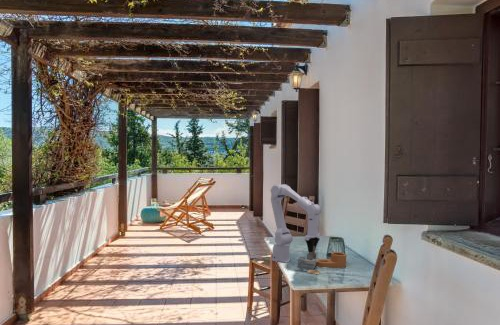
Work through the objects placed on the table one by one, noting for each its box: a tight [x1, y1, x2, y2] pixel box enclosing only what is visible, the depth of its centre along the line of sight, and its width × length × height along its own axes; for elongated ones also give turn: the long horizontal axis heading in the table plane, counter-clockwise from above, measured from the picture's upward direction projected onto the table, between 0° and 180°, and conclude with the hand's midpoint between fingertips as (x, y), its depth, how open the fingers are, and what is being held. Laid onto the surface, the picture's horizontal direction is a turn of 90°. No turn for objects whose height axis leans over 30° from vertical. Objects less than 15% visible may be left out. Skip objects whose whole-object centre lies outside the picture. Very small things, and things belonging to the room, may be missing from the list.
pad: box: [306, 269, 321, 276], centre depth 210 cm, size 6×6×1 cm
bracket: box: [315, 251, 347, 269], centre depth 225 cm, size 18×8×7 cm, turn 100°
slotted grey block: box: [306, 246, 317, 261], centre depth 217 cm, size 3×5×7 cm, turn 145°
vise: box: [297, 255, 319, 270], centre depth 218 cm, size 10×11×5 cm
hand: (311, 251), depth 217 cm, fingers closed on slotted grey block, 2 cm apart
